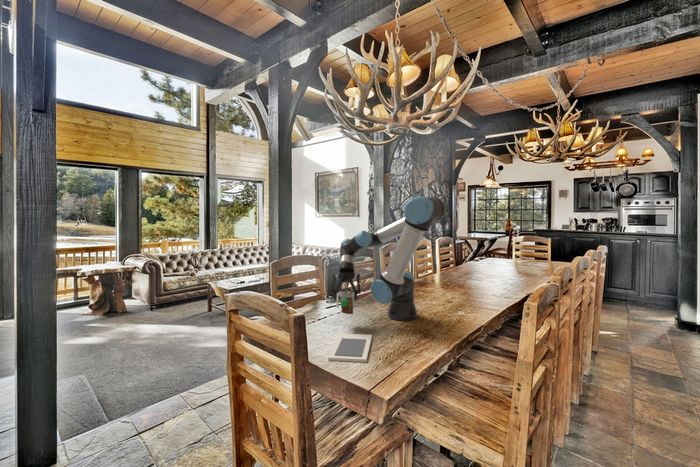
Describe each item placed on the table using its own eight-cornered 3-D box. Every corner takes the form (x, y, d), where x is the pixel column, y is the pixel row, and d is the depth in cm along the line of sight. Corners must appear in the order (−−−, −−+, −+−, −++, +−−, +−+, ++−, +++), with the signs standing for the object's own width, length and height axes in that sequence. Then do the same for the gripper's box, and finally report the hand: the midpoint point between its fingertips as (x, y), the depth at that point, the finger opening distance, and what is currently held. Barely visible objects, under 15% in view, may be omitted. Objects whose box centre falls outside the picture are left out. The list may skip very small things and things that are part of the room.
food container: (338, 307, 162) (337, 287, 161) (351, 307, 162) (350, 287, 161) (339, 315, 149) (338, 294, 149) (353, 314, 150) (352, 293, 149)
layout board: (372, 337, 142) (372, 334, 142) (366, 362, 118) (366, 358, 118) (340, 335, 144) (340, 332, 144) (328, 360, 120) (328, 356, 120)
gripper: (366, 269, 169) (366, 310, 154) (328, 270, 171) (325, 310, 155) (366, 260, 164) (366, 301, 148) (326, 261, 165) (323, 302, 150)
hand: (345, 306), depth 152 cm, fingers closed on food container, 7 cm apart
